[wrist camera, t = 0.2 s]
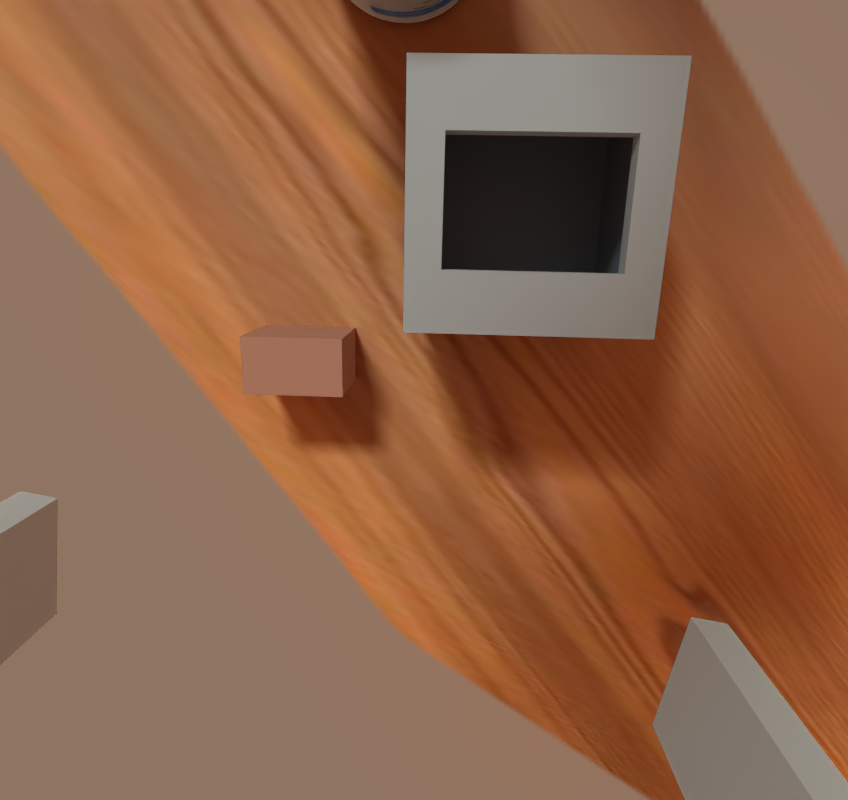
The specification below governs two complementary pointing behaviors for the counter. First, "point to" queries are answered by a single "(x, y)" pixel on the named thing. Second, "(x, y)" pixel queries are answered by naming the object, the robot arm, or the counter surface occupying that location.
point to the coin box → (539, 192)
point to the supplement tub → (404, 9)
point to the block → (298, 360)
